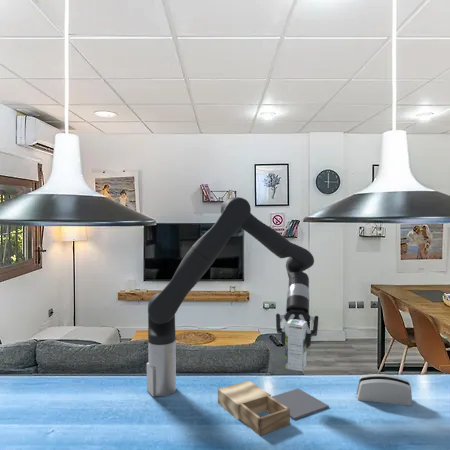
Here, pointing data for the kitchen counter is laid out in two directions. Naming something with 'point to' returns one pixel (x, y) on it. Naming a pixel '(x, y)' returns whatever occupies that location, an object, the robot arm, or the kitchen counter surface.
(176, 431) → the kitchen counter surface
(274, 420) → the wooden drawer box
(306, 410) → the mat
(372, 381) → the grey arched block
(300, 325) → the syrup box
